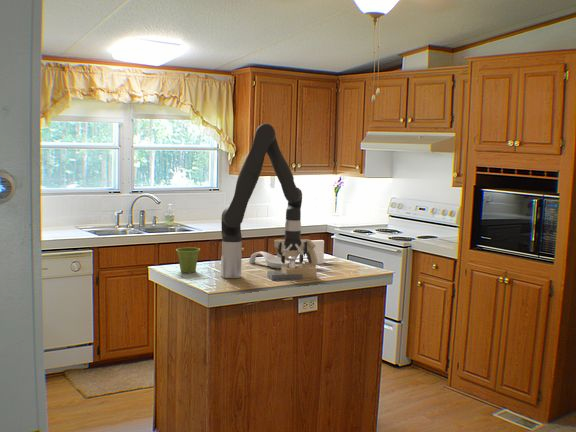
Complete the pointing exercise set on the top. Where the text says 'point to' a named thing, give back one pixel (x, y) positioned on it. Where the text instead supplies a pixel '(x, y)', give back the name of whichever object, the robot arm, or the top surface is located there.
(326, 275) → the top surface
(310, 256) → the gun
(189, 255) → the plant pot
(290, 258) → the pin
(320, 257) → the base with upright slab
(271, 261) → the spoon rest
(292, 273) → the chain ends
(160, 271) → the top surface
